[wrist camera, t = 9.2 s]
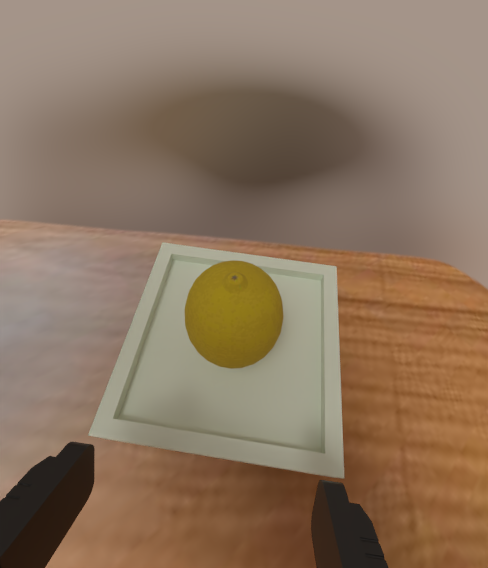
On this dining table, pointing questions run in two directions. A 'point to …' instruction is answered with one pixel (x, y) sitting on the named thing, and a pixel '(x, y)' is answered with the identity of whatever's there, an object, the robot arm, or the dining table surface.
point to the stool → (231, 373)
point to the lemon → (233, 314)
